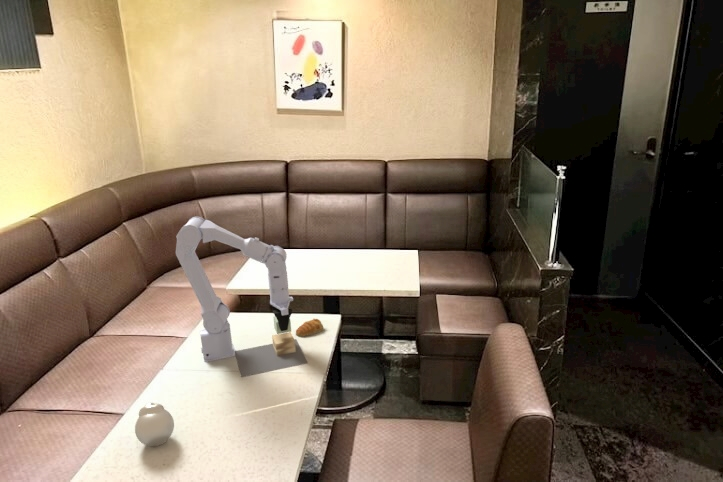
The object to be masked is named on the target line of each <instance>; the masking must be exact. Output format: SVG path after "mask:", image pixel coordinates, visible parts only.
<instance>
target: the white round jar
mask: <svg viewBox="0 0 723 482" xmlns="http://www.w3.org/2000/svg"><path fill="white" fill-rule="evenodd" d="M174 429H175V421H174V417H173V415H172V414H171V413H170V412H169V411H168V410H166V409H165V407H164V405H162V404H161V403H157V402H156V403H155V402H148V403H146V404H145V405H144V406H143V407H141V408H140V409H139V412H138V418H137V420H136V422H135V426H134V433H135V437H136V439H137V440H138V441H139V442H140V443H141V444H143V445H144V446H147V447H157V446H160V445H162V444H164V443H165V442H167V441H168V440H170V438H171V436H172V435H173V433H174Z"/></svg>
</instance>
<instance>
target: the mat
mask: <svg viewBox="0 0 723 482" xmlns="http://www.w3.org/2000/svg"><path fill="white" fill-rule="evenodd" d="M294 340H295V349H296V352H292V353H287V354H282V355H278V356H277V355H276V352H275V350H274V347H273V343H269V344H263V345H260V346H254V347H250V348H249V347H248V348H244V349H239V350H234V351H235V358H236V363H237V365H238V369H239V374H240V377H241V378H245V377H250V376H254V375H258V374H263V373H268V372H272V371H277V370H282V369H286V368H292V367H296V366H302V365H306V364H309V362H308V360H307V359H306V356H305V354H304V352H303V350H302V348H301V346H300V344H299V342H298V340H297V338H294Z"/></svg>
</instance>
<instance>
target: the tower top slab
mask: <svg viewBox="0 0 723 482" xmlns="http://www.w3.org/2000/svg"><path fill="white" fill-rule="evenodd" d="M271 338H272V344H273V343H274V346H275V348H276V350H279V349H284V348H289V347H294V346H295V340H294V339H295V338H294V336H293V334H292V331H291V332H286V333H281V334H275V335H274V334H273V335H272V337H271Z"/></svg>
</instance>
